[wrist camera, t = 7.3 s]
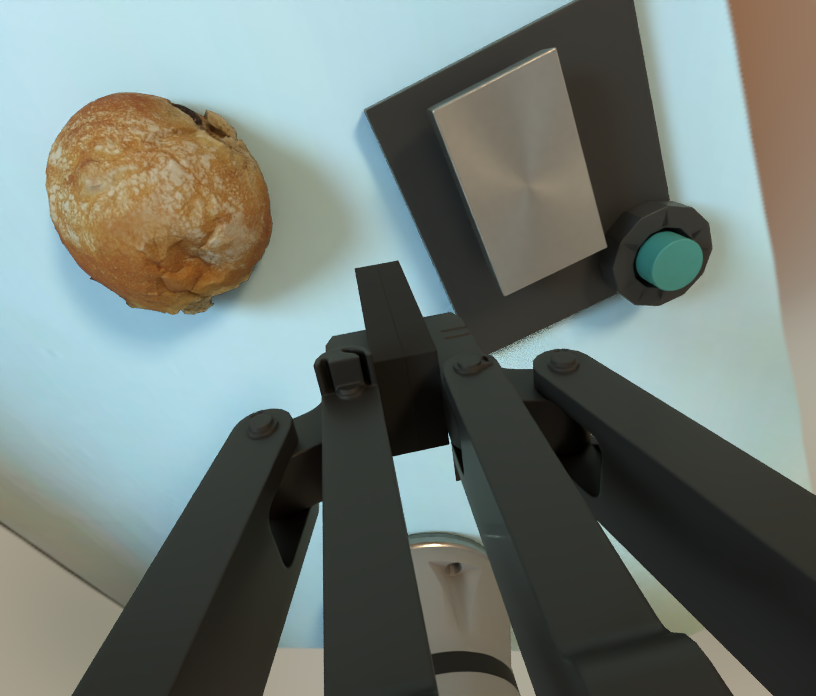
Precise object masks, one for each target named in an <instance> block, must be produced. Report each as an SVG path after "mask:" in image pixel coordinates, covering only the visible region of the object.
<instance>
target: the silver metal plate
mask: <svg viewBox="0 0 816 696" xmlns="http://www.w3.org/2000/svg"><path fill="white" fill-rule="evenodd" d="M427 113H428V116H429V118H430V121H431V123H432V126H433V128H434V131H435V133H436V136H437V139H438V141H439V144H440V146H441V149H442V151H443V154H444V156H445V159H446V161H447V164H448V167H449V169H450V172H451V174H452V177H453V179H454V182H455V184H456V187H457V189H458V192H459V195H460V197H461V200H462V202H463V205H464V207H465V210H466V212H467V215H468V217H469V220H470V222H471V225H472V228H473V230H474V233H475V235H476V238H477V240H478V243H479V245H480V248H481V250H482V253H483V256H484V258H485V261H486V263H487V266H488V268H489V271H490V273H491V276H492V278H493V281H494V284H495V286H496V288H497V289H498V290H499V291H500V292H501V293H502V295H503V296H507V295H509V294H511V293H513V292H515V291H517V290H519V289H521V288H524V287H526V286H528V285H530V284H532V283H534V282H536V281H538V280H540V279H542V278H544V277H546V276H548V275H551V274H553V273H555V272H557V271H559V270H561V269H563V268H565V267H567V266H569V265H571V264H573V263H575V262H578V261H580V260H582V259H584V258H586V257H588V256H590V255H592V254H594V253H596V252H598V251H600V250H602V249H605V248H606V247H607V244H606V240H605V236H604V232H603V228H602V224H601V220H600V217H599V213H598V209H597V205H596V201H595V197H594V193H593V189H592V186H591V182H590V178H589V174H588V170H587V166H586V162H585V158H584V154H583V151H582V147H581V143H580V139H579V135H578V131H577V127H576V123H575V119H574V116H573V112H572V108H571V104H570V100H569V96H568V92H567V88H566V85H565V81H564V77H563V73H562V69H561V65H560V61H559V57H558V53H557V50H556V48H548V49H542V50H540V51H538V52H536V53H534V54H532V55H530V56H528V57H526V58H524V59H522V60H521V61H519V62H517V63H515V64H513V65H511V66H509V67H507V68H505V69H503V70H501V71H499V72H497V73H495V74H493V75H491V76H489V77H488V78H486V79H484V80H482V81H480V82H478V83H476V84H474V85H472V86H470V87H468V88H466V89H464V90H462V91H460V92H458V93H456V94H455V95H453V96H451V97H449V98H447V99H445V100H443V101H441V102H439V103H437V104H435V105H433V106H431V107H429V108H428V109H427Z"/></svg>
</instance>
